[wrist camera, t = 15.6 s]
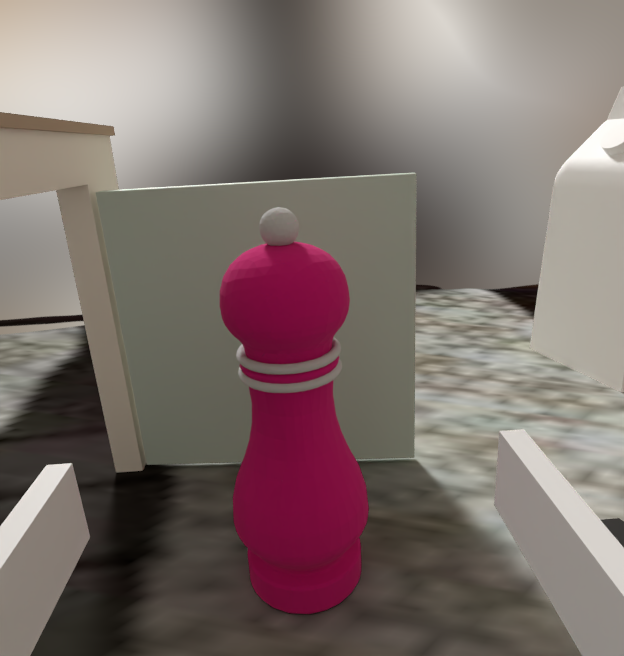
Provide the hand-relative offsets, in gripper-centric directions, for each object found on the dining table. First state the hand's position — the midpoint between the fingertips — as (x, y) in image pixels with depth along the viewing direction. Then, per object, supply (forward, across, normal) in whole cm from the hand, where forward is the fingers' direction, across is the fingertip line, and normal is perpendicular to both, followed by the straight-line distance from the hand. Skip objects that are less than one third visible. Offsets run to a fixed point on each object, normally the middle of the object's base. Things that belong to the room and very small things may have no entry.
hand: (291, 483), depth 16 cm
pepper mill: (+10, 0, -13) cm, 16 cm away
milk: (+35, +33, -13) cm, 49 cm away
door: (+21, -2, -12) cm, 24 cm away
